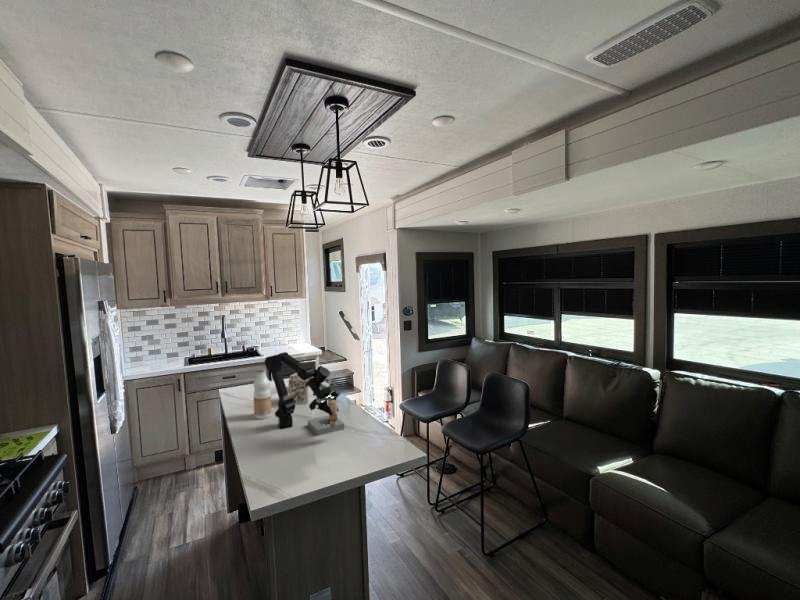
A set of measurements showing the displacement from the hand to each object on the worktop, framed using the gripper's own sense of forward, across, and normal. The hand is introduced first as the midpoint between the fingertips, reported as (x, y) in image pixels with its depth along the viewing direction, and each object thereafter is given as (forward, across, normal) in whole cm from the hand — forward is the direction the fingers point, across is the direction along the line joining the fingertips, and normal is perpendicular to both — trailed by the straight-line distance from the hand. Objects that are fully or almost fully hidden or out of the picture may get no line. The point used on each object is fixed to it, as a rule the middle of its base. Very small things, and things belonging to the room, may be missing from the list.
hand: (335, 413), depth 184 cm
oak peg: (+4, 0, +6) cm, 7 cm away
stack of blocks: (-42, +54, +62) cm, 93 cm away
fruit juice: (-30, +4, +50) cm, 59 cm away
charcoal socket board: (-1, +9, +20) cm, 22 cm away
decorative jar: (-30, +32, +50) cm, 67 cm away
